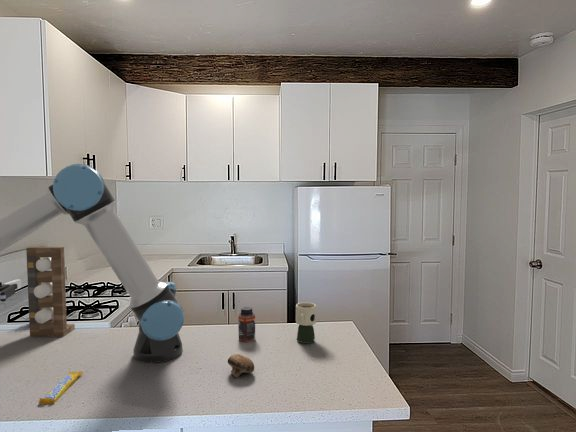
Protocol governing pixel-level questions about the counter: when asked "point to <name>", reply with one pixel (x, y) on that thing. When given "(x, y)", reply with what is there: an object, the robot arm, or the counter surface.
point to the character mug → (305, 321)
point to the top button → (44, 264)
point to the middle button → (43, 290)
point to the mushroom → (240, 364)
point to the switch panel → (55, 301)
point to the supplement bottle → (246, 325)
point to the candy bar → (60, 388)
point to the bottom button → (44, 315)
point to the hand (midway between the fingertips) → (18, 283)
